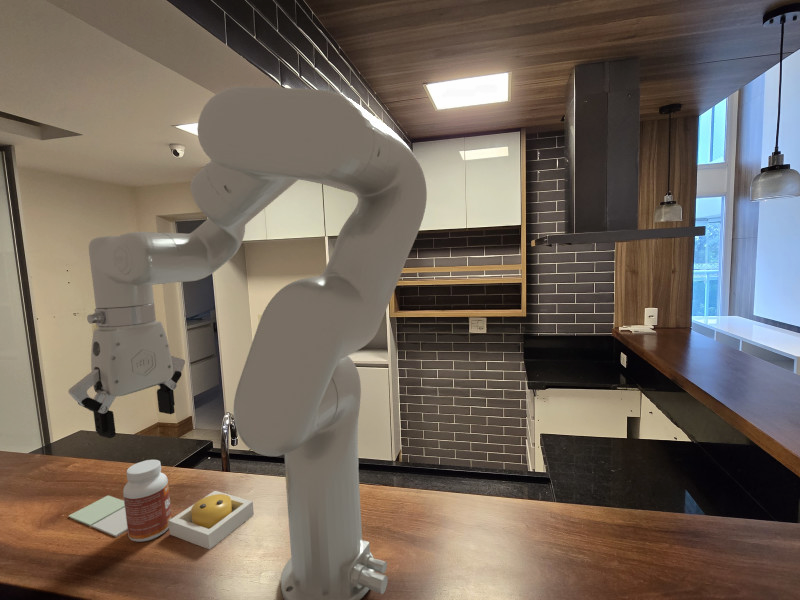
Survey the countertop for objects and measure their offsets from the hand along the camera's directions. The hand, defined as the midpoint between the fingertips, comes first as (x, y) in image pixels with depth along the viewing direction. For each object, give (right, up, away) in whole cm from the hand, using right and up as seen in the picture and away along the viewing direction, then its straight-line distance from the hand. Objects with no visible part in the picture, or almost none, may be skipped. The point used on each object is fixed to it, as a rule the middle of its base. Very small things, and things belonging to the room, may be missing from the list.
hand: (139, 423), depth 65 cm
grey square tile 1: (-6, -18, +5) cm, 20 cm away
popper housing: (+11, -18, +3) cm, 21 cm away
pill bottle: (+1, -18, +2) cm, 18 cm away
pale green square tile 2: (-12, -18, +8) cm, 23 cm away
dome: (+10, -17, +3) cm, 20 cm away
